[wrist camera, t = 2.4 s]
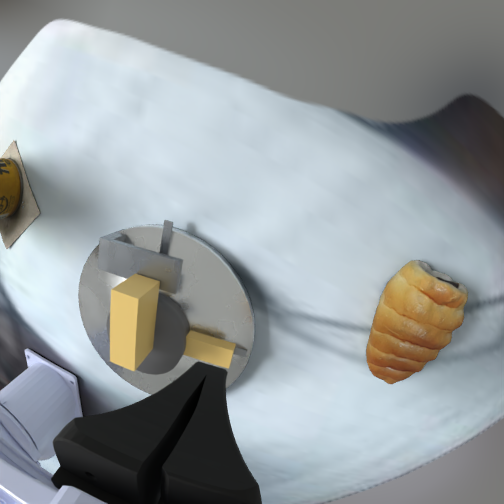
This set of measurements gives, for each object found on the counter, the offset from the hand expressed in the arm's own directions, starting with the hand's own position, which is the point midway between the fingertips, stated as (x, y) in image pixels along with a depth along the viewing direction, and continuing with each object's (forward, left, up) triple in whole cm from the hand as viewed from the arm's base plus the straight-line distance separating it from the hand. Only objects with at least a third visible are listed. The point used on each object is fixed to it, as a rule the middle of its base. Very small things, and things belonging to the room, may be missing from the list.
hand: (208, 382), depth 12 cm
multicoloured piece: (-3, +4, -9) cm, 10 cm away
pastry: (+2, -13, -10) cm, 16 cm away
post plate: (-4, +6, -10) cm, 12 cm away
